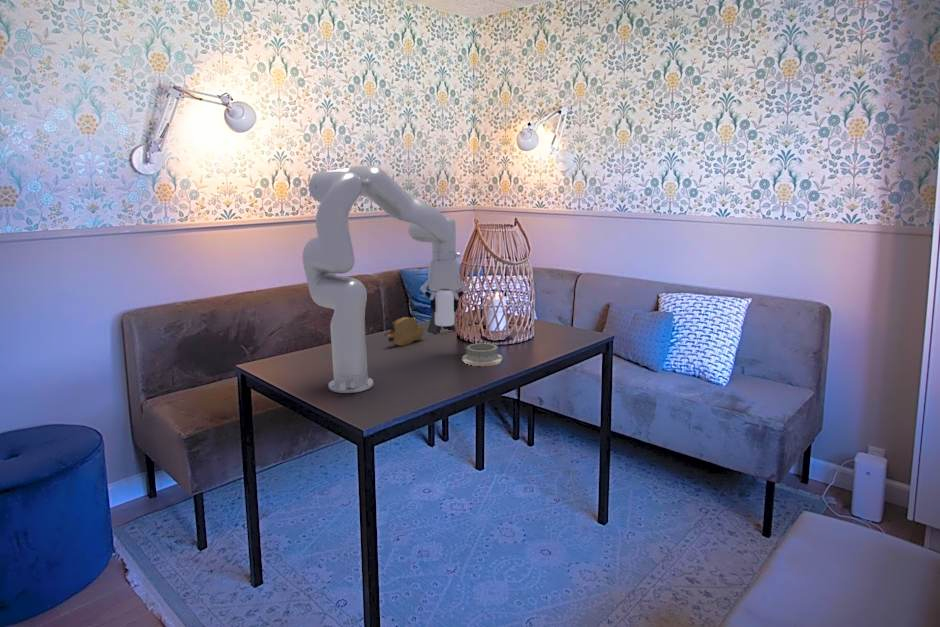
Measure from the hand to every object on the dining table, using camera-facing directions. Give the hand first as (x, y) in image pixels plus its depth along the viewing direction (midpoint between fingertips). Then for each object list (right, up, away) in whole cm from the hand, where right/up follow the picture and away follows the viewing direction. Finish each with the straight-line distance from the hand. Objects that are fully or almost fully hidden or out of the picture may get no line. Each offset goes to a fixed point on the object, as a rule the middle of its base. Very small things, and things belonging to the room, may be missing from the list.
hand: (444, 310), depth 208 cm
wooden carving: (-15, -12, +18) cm, 26 cm away
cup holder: (+12, -16, -3) cm, 21 cm away
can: (0, -5, +1) cm, 5 cm away
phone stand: (-2, -8, +36) cm, 37 cm away
